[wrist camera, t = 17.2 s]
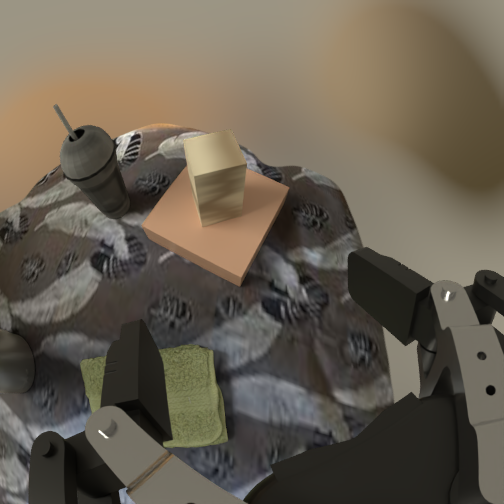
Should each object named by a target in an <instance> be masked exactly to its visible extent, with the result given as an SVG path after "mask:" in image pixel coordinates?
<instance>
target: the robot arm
mask: <svg viewBox="0 0 504 504" xmlns="http://www.w3.org/2000/svg"><path fill="white" fill-rule="evenodd" d="M348 290H349V293H350V295H351V297H352V299H353V300H354V301H355V302H356V303H357V304H359V305H360V306H361V307H362V308H363V309H364V310H365V311H367V312H368V313H369V314H370V315H371V316H372V317H373V318H374V319H376V320H377V321H378V322H379V323H380V324H381V325H382V326H383V327H385V328H386V329H387V330H388V331H389V332H390V333H391V334H392V335H394V336H395V337H396V338H397V339H398V340H399V341H400V342H402V344H404V345H405V346H407V345H408V344H410V343H411V342H413V341H414V340H417V341H418V345H417V354H418V363H419V373H420V394H419V398H417V397H416V396H415V395H414V394H413V393H412V392H411V393H409V394H408V395H407V396H405V397H404V398H402V399H401V400H399V401H398V402H396V403H395V404H393V405H392V406H390V407H389V408H387V409H386V410H384V411H383V412H382V413H381V414H380V415H379V416H378V417H377V418H376V419H375V420H374V421H373V422H372V423H371V424H370V425H368V426H367V427H366V428H365V429H364V430H363V431H362V432H361V433H360V434H359V435H358V436H356V437H355V438H353V439H351V440H348V441H344V442H340V443H336V444H332V445H328V446H324V447H319V448H315V449H310V450H308V451H305V452H303V453H301V454H298V455H296V456H293V457H291V458H288V459H285V460H283V461H280V462H277V463H275V464H272V465H270V466H271V468H272V470H273V474H271V475H269V476H268V477H266V478H265V479H264V480H262V481H261V482H260V483H258V484H257V485H256V486H255V487H254V488H253V489H252V490H251V491H250V492H249V493H248V495H247V496H246V497H245V498H244V500H243V501H242V500H240V499H238V498H237V497H235V496H233V495H232V494H230V493H228V492H227V491H225V490H223V489H222V488H220V487H219V486H217V485H215V484H214V483H212V482H211V481H209V480H208V479H206V478H205V477H203V476H202V475H201V474H199V473H198V472H196V471H195V470H193V469H192V468H191V467H189V466H188V465H187V464H185V463H184V462H183V461H181V460H180V459H179V458H177V457H176V456H175V455H173V454H172V453H171V452H168V451H167V450H166V449H164V446H163V442H166V441H171V440H173V435H172V429H171V422H170V415H169V408H168V400H167V392H166V383H165V373H164V364H163V360H162V357H161V354H160V352H159V350H158V348H157V346H156V344H155V342H154V340H153V338H152V336H151V334H150V332H149V330H148V328H147V326H146V324H145V322H144V321H143V320H142V319H141V320H137V321H133V322H130V323H126V324H123V325H122V328H121V335H120V340H118V341H114V342H113V343H112V345H111V347H110V348H109V350H108V352H107V355H106V362H105V364H106V366H105V369H104V374H105V375H104V376H103V385H102V394H101V404H100V409H98V410H96V411H95V412H94V413H93V414H92V415H91V416H90V417H89V419H88V420H87V423H86V426H85V431H83V432H81V433H79V434H76V435H74V436H72V437H69V438H67V439H64V438H63V437H61V436H60V435H59V434H58V433H56V432H53V431H47V432H44V433H42V434H40V435H39V436H38V437H37V438H36V440H35V441H34V443H33V445H32V449H31V458H30V471H29V504H121V503H120V497H119V490H120V489H123V488H125V487H127V488H128V489H127V490H126V492H127V494H128V495H129V497H130V498H131V499H132V500H133V501H134V502H135V503H136V504H504V335H503V334H502V333H501V332H499V331H498V330H497V329H496V328H494V327H493V326H492V325H491V324H492V321H493V319H494V316H495V313H496V311H498V312H499V313H500V314H501V315H503V316H504V277H502V276H501V275H499V274H498V273H496V272H494V271H490V270H481V271H479V272H477V273H476V275H475V279H474V284H473V285H470V286H466V287H462V286H461V285H459V284H458V283H456V282H452V281H447V280H446V281H445V280H443V281H438V282H436V283H432V282H431V281H429V280H428V279H426V278H424V277H422V276H421V275H419V274H418V273H416V272H415V271H413V270H411V269H408V267H406V266H405V265H403V264H402V265H401V263H400V262H398V261H396V260H394V259H393V258H390V257H387V256H383V255H380V254H378V253H377V252H375V251H373V250H372V249H370V248H368V247H365V248H362V249H359V250H356V251H354V252H351V253H350V254H349V255H348ZM34 376H35V364H34V358H33V354H32V351H31V349H30V347H29V345H28V344H27V342H26V341H25V340H24V339H23V338H22V337H21V336H19V335H16V334H13V333H9V332H8V331H6V330H3V329H0V393H24V392H26V391H28V390H29V389H30V387H31V386H32V384H33V380H34ZM77 493H78V498H77Z"/></svg>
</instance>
